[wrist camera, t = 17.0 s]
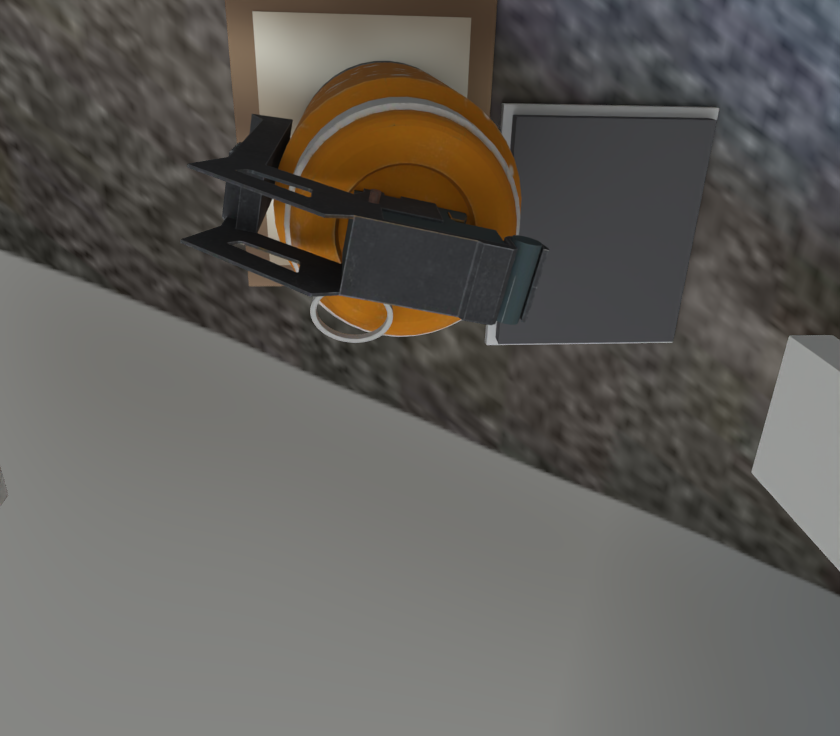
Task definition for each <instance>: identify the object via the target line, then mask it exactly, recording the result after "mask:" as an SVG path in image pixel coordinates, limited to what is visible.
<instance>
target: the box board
mask: <svg viewBox="0 0 840 736" xmlns="http://www.w3.org/2000/svg"><path fill="white" fill-rule="evenodd" d="M225 7H226V19H227V31H228V43H229V55H230V66H231V78H232V90H233V102H234V114H235V125H236V137H237V143H239V142H243V141H244V140H245V139H246V137H247V136H248V135H249V132H250V124H251V116H252V114H257V115H264V116H272V117H279V118H286V119H293V122H292V129H291V136H290V139H291V137H292V135H293V133H294V131H295V129H296V127H297V125H298V123H299V121H300V119H301V117H302V115H303V113H304V112H305V110H306V108H307V106H308V105H309V103H310V101H311V100H312V98H313V96H314V95H315V94H316V93H317V92H318V91H319V89H320V88H321V87H322V86H323V85H324V84H325V83H326V82H328V81H329V80H330V79H331V78H332V77H334V76H335V75H337V74H338V73H340V72H342V71H344V70H345V69H347V68H350V67H353V66H355V65H358V64H361V63H366V62H372V61H394V62H400V63H405V64H408V65H411V66H414V67H417V68H419V69H420V70H422V71H424V72H426V73H428V74H430V75H431V76H433V77H435V78H436V79H438V80H439V81H441V82H443V83H444V84H446V85H447V86H449V87H450V88H452V89H454V90H455V91H457V92H458V93H460V94H462V95H463V96H465V97H466V98H468V99H469V100H470V101H471V102H473V103H474V104H475V105H477V106H478V107H479V108H480V109H482V110H483V111H484V113H485V114H486V115H487V116H488V117H489V118H490V107H491V91H492V76H493V60H494V45H495V29H496V14H497V0H225ZM273 202H274V199H272V201H271V204H270V206H269V208H268V210H267V213H266V215H265V217H264V220H263V222H262V224H261V226H260V229H259V231H258V234H261V235H264V236H267V237H269V238H272V239H275V240H277V241H280V240H279V236H278V233H277V229H276V225H275V216H274V206H273ZM246 251H247V252H249V253H251V254H254V255H256V256H259V257H261V258H263V259H266V260H268V261H271V262H273V263H275V264H278V265H280V266H283V267H285V268H287V269H290V270H292V271H294V269H293V268H292V266H291V265H290V263H289V261H288V260H286V259H283V258H280V257H277V256H274V255H271V254H269V253H266V252H263V251H260V250H257V249H254V248H252V247H249V246H246ZM294 272H295V271H294ZM248 279H249V286H284V285H281V284H279V283H276V282H274V281H272V280H269V279H267V278H264V277H262V276H260V275H257V274H255V273H252V272H250V271H248Z"/></svg>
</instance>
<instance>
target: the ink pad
mask: <svg viewBox="0 0 840 736" xmlns="http://www.w3.org/2000/svg"><path fill="white" fill-rule="evenodd" d="M718 111H719V108H716V107H690V106H635V105H580V104H525V103H502V107H501V121H500V132H501V134H502V135H503V137H504V138H505V140H506V141H507V144H508V146H509V148H510V150H511V153H512V155H513V157H514V159H515V163H516V167H517V171H518V174H519V178H520V188H521V215H520V233H519V235H520V236H525V237H529V238H532V239H535V240H537V241H539V242H541V243H542V244H543V245H545V246H546V247H548V248H549V252H548V255H547V258H546V261H545V265H544V268H543V271H542V274H541V277H540V281H539V284H538V287H537V290H536V293H535V297H534V300H533V303H532V306H531V309H530V312H529V316H528V319H527V322H526V323H524V322H521V319H519V322H518V324H516V325H509V324H504V323H500V322H498V321H496V324H495V325H486V332H485V343H486V345H529V344H602V343H673V339H674V334H675V329H676V324H677V319H678V314H679V309H680V304H681V299H682V294H683V289H684V284H685V279H686V274H687V269H688V264H689V259H690V254H691V249H692V244H693V239H694V234H695V228H696V223H697V218H698V213H699V208H700V203H701V198H702V193H703V188H704V183H705V178H706V173H707V168H708V163H709V158H710V153H711V148H712V143H713V138H714V133H715V128H716V123H717V117H718Z"/></svg>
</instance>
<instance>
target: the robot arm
mask: <svg viewBox="0 0 840 736" xmlns="http://www.w3.org/2000/svg"><path fill="white" fill-rule="evenodd" d="M751 473H752V474H753V475H754V476H755V477H756V478H757V479H758V480H759V481H760V483H761V484H762V485H763V486H764V487H765V488H766V489H767V490H768V492H769V493H770V494H771V495H772V496H773V497H774V498H775V499H776V500H777V502H778V503H779V504H780V505H781V506H782V507H783V508H784V509H785V511H786V512H787V513H788V514H789V515H790V516H791V517H792V518H793V519H794V521H795V522H796V523H797V524H798V525H799V526H800V527H801V528H802V530H803V531H804V532H805V533H806V534H807V535H808V536H809V537H810V538H811V540H812V541H813V542H814V543H815V544H816V545H817V546H818V547H819V549H820V550H821V551H822V552H823V553H824V554H825V555H826V556H827V557H828V559H829V560H830V561H831V562H832V563H833V564H834V565H835V566H836V568H837V569H838V570H839V571H840V340H839V339H837V338H836V337H834V336H833V335H805V336H789V339H788V342H787V346H786V350H785V353H784V357H783V360H782V364H781V368H780V371H779V375H778V378H777V382H776V386H775V389H774V393H773V397H772V400H771V404H770V407H769V411H768V415H767V418H766V422H765V425H764V429H763V433H762V436H761V440H760V444H759V447H758V451H757V454H756V458H755V462H754V465H753V469H752V472H751ZM7 497H8V492H7V489H6V485H5V481H4V478H3V474H2V471H1V467H0V506H1V505H2V503H3V502H4V501H5V499H6V498H7Z"/></svg>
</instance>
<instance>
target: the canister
mask: <svg viewBox="0 0 840 736" xmlns="http://www.w3.org/2000/svg"><path fill="white" fill-rule="evenodd" d="M292 122H293V119H286V118H279V117H272V116H264V115H257V114H252V116H251V124H250V132H249V135H248V136H247V137H246V139H245V140H244V141H243V142H239V143H237V145H235V147H234V148H233V149H232V150H231V151H230V152H229V157H226V158H220V159H214V160H208V161H202V162H196V163H190V164H187V167H188V168H190V169H193V170H196V171H199V172H201V173H204V174H207V175H209V176H212V177H215V178H218V179H220V180H223V181H226V187H225V196H224V205H223V214H222V218H223V219H224V222H223V223H222V225H221V226H219V227H216V228H213V229H210V230H207V231H204V232H201V233H198V234H195V235H192V236H189V237H186V238H183V239H181V243H183V244H185V245H187V246H190V247H192V248H195V249H197V250H200V251H202V252H204V253H207V254H209V255H212V256H214V257H216V258H219V259H221V260H224V261H226V262H228V263H231V264H233V265H236V266H238V267H240V268H243V269H245V270H248V271H250V272H252V273H255V274H257V275H260V276H262V277H264V278H267V279H269V280H272V281H274V282H276V283H279V284H281V285H284V286H286V287H288V288H291V289H293V290H296V291H298V292H300V293H303V294H305V295H307V296H310V297H313V300H312V304H311V309H310V314H311V318H312V321H313V322H314V324H315V326H316V327H317V328H318V329H319V330H320V331H321V332H323V333H324V334H326V335H327V336H329V337H331V338H334V339H336V340H340V341H344V342H352V343H358V342H366V341H370V340H373V339H376V338H378V337H380V336H381V335H386V336H395V337H402V336H417V335H422V334H427V333H432V332H435V331H438V330H441V329H444V328H447V327H449V326H451V325H453V324H455V323H457V322H459V321H461V320H464V321H469V322H475V323H480V324H486V325H495V324H496V321H498V322H500V323H504V324H509V325H516V324H518V322H519V319H521V322H524V323H526V322H527V319H528V316H529V312H530V309H531V306H532V303H533V300H534V297H535V293H536V290H537V287H538V284H539V281H540V277H541V274H542V271H543V268H544V265H545V261H546V258H547V255H548V252H549V248H548V247H546V246H545V245H543V244H542V243H541V242H539V241H537V240H535V239H532V238H529V237H525V236H520V235H519V233H520V215H521V188H520V178H519V174H518V171H517V167H516V163H515V159H514V157H513V155H512V153H511V150H510V148H509V146H508V144H507V141H506V140H505V138H504V137H503V135H502V134H501V132H500V131H499V129H498V128H497V126H496V125H495V123H494V122H493V121H492V120H491V119H490V118H489V117H488V116H487V115H486V114H485V113H484V111H483V110H482V109H480V108H479V107H478V106H477V105H475V104H474V103H473V102H471V101H470V100H469V99H468V98H466V97H465V96H463V95H462V94H460V93H458V92H457V91H455V90H454V89H452V88H450V87H449V86H447V85H446V84H444V83H443V82H441V81H439V80H438V79H436V78H435V77H433V76H431V75H430V74H428V73H426V72H424V71H422V70H420V69H419V68H417V67H414V66H411V65H408V64H405V63H400V62H394V61H372V62H366V63H361V64H358V65H355V66H353V67H350V68H347V69H345V70H344V71H342V72H340V73H338V74H337V75H335V76H334V77H332V78H331V79H330V80H329V81H328V82H326V83H325V84H324V85H323V86H322V87H321V88H320V89H319V91H318V92H317V93H316V94H315V95H314V96H313V98H312V100H311V101H310V103H309V105H308V106H307V108H306V110H305V112H304V113H303V115H302V117H301V119H300V121H299V123H298V125H297V127H296V129H295V131H294V133H293V135H292V137H291V139H290V136H291V129H292ZM272 199H274V202H273V206H274V216H275V225H276V229H277V233H278V236H279V240H280V241H277V240H275V239H272V238H269V237H267V236H264V235H261V234H258V231H259V229H260V226H261V224H262V222H263V220H264V217H265V215H266V213H267V210H268V208H269V206H270V204H271V201H272ZM234 244H243V245H246V246H249V247H252V248H254V249H257V250H260V251H263V252H266V253H269V254H271V255H274V256H277V257H280V258H283V259H286V260H288V261H289V263H290V265H291V266H292V268H293V269H294V271H295V272H294V271H292V270H290V269H287V268H285V267H283V266H280V265H278V264H275V263H273V262H271V261H268V260H266V259H263V258H261V257H259V256H256V255H254V254H251V253H249V252H247V251H244V250H242V249H239V248H237V247H235V246H232V245H234ZM318 303H319V304H320V305H321V306H322V307H323V308H325V309H326V310H327V311H328V312H329V313H331V314H332V315H333V316H335V317H337V318H338V319H340V320H342V321H343V322H345V323H346V324H348V325H351V326H353V327H356V328H358V329H360V330H363V331H366V332H369V333H366V334H359V335H351V334H344V333H340V332H338V331H335V330H333V329H331V328H330V327H328V326H327V325H325V324H324V323H323V322H322V320H321V319H320V317H319V316H318V313H317V304H318Z"/></svg>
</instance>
